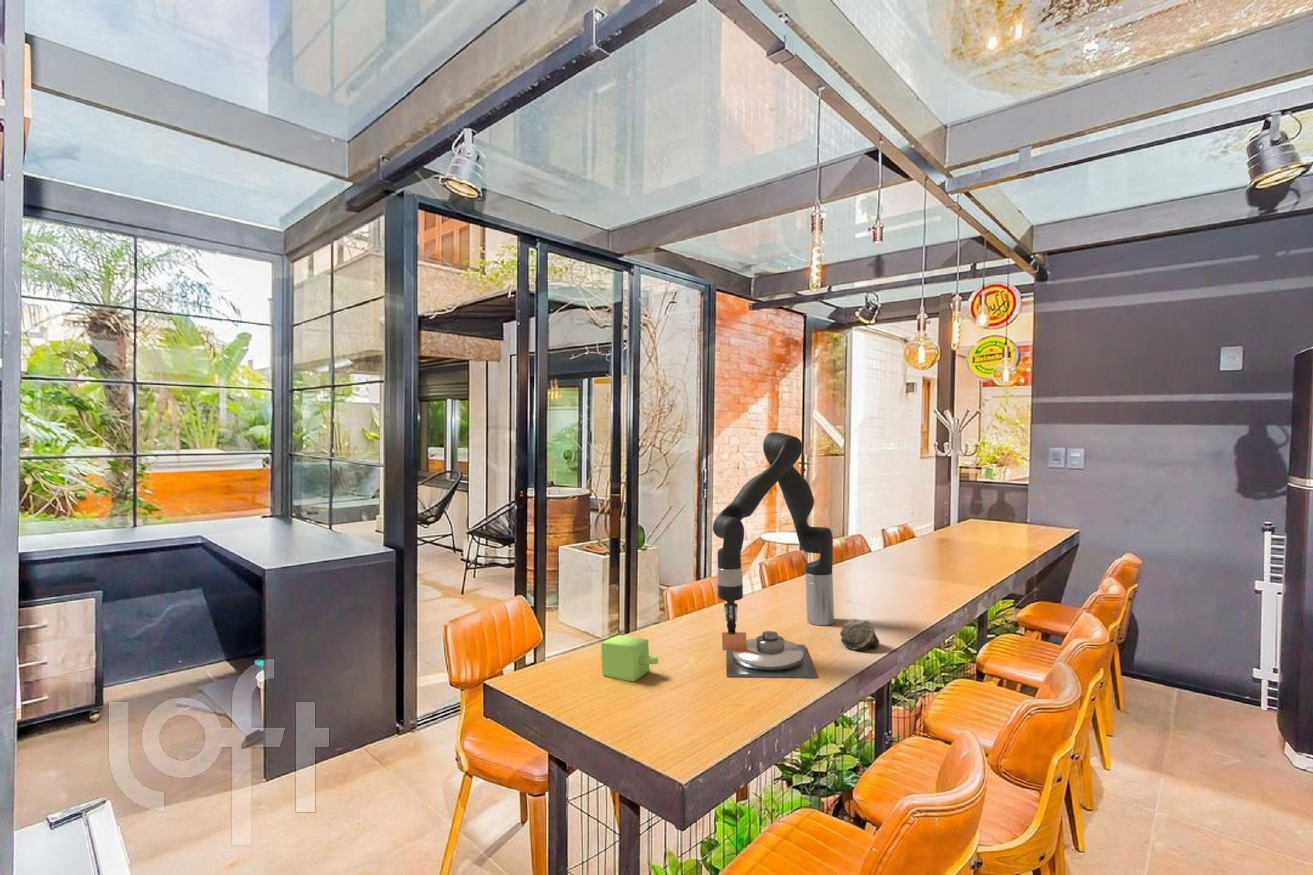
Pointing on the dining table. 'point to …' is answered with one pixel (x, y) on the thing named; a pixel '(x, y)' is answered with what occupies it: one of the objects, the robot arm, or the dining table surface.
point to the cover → (770, 643)
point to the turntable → (752, 658)
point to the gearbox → (626, 657)
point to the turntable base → (798, 671)
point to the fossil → (858, 635)
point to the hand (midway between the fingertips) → (732, 639)
